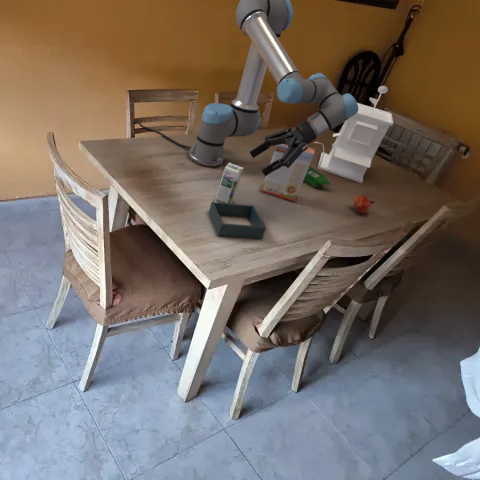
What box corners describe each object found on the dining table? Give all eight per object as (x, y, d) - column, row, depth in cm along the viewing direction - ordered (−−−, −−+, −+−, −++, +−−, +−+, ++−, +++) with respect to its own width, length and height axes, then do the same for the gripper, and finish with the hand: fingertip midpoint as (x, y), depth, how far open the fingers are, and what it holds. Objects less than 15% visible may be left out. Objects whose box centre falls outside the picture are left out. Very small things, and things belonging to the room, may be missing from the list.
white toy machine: (363, 185, 196) (409, 99, 173) (304, 165, 202) (340, 79, 179) (363, 167, 215) (404, 87, 192) (309, 149, 221) (343, 69, 197)
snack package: (318, 192, 182) (323, 181, 178) (290, 174, 191) (295, 163, 188) (328, 189, 185) (333, 179, 182) (300, 172, 195) (305, 161, 192)
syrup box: (213, 202, 157) (224, 167, 149) (218, 196, 162) (229, 161, 154) (228, 208, 156) (240, 172, 148) (232, 201, 161) (244, 167, 152)
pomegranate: (346, 216, 173) (372, 213, 166) (343, 198, 172) (369, 194, 165) (353, 213, 178) (378, 210, 171) (350, 195, 178) (375, 192, 171)
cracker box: (295, 196, 174) (315, 148, 162) (294, 202, 169) (315, 154, 157) (262, 185, 177) (279, 137, 164) (259, 191, 172) (277, 142, 160)
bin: (218, 235, 140) (221, 224, 138) (208, 212, 151) (211, 201, 148) (261, 238, 144) (266, 227, 141) (249, 216, 154) (253, 205, 152)
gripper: (331, 153, 138) (273, 189, 144) (301, 123, 158) (251, 155, 163) (323, 136, 134) (263, 173, 139) (293, 107, 154) (242, 140, 159)
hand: (256, 163), depth 151 cm, fingers open, 13 cm apart
